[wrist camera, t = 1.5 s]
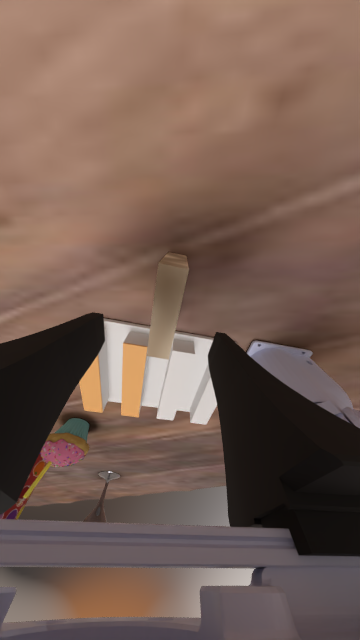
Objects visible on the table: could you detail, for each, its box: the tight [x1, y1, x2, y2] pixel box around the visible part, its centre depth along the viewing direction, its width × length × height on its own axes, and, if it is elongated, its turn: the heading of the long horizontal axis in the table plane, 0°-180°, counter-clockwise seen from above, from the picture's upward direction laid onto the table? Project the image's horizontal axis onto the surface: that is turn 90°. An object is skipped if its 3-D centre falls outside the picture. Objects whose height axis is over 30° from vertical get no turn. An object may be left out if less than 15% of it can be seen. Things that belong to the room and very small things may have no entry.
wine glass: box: [83, 471, 120, 523], centre depth 43 cm, size 8×8×15 cm
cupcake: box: [18, 418, 89, 505], centre depth 29 cm, size 9×8×12 cm
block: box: [147, 252, 189, 360], centre depth 15 cm, size 2×8×8 cm, turn 169°
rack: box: [79, 318, 237, 424], centre depth 24 cm, size 22×18×3 cm
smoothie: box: [0, 454, 47, 520], centre depth 33 cm, size 8×8×20 cm
